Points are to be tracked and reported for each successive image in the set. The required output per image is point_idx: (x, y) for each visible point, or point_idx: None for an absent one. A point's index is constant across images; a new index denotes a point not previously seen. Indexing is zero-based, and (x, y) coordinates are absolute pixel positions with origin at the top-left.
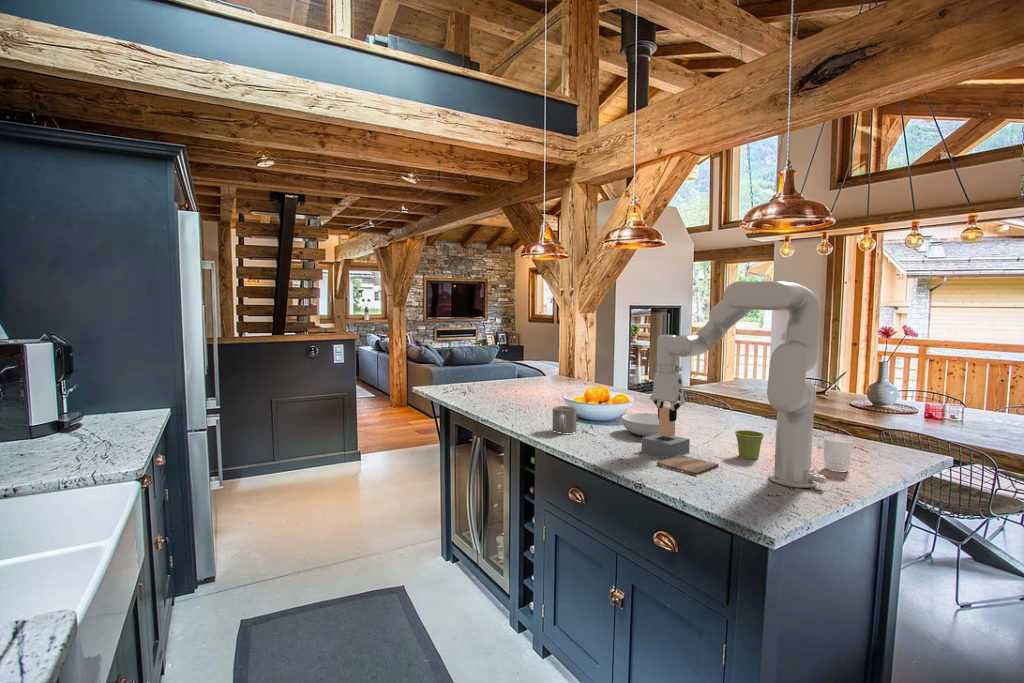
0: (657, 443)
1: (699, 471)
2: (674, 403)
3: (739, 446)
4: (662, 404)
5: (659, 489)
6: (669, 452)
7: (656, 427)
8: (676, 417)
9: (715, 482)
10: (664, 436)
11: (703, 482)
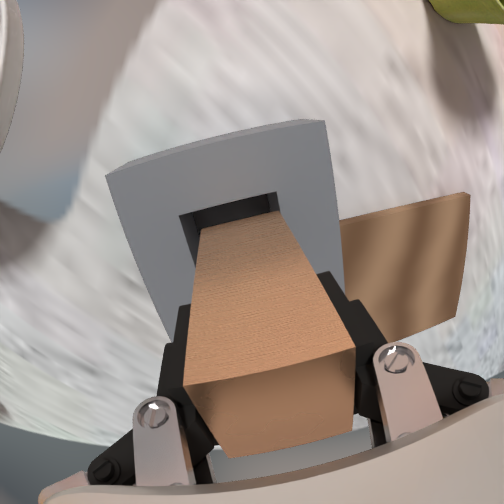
0: None
1: (457, 302)
2: (393, 429)
3: (466, 11)
4: (179, 441)
5: None
6: None
7: (3, 116)
8: (361, 305)
9: (486, 300)
10: (187, 212)
11: (470, 323)
